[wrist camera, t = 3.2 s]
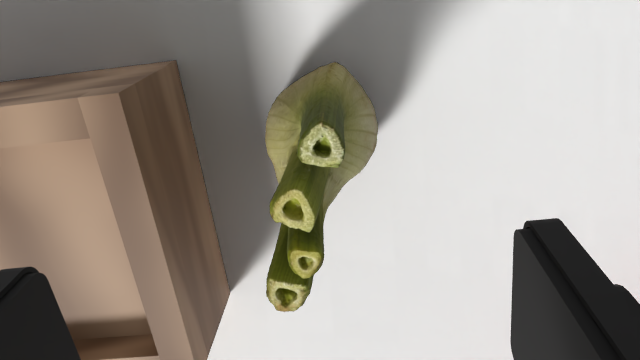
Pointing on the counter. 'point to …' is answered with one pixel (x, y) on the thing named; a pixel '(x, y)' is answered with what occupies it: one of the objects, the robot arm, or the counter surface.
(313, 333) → the counter surface
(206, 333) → the open walnut box
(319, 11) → the counter surface
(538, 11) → the counter surface
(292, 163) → the fennel bulb
